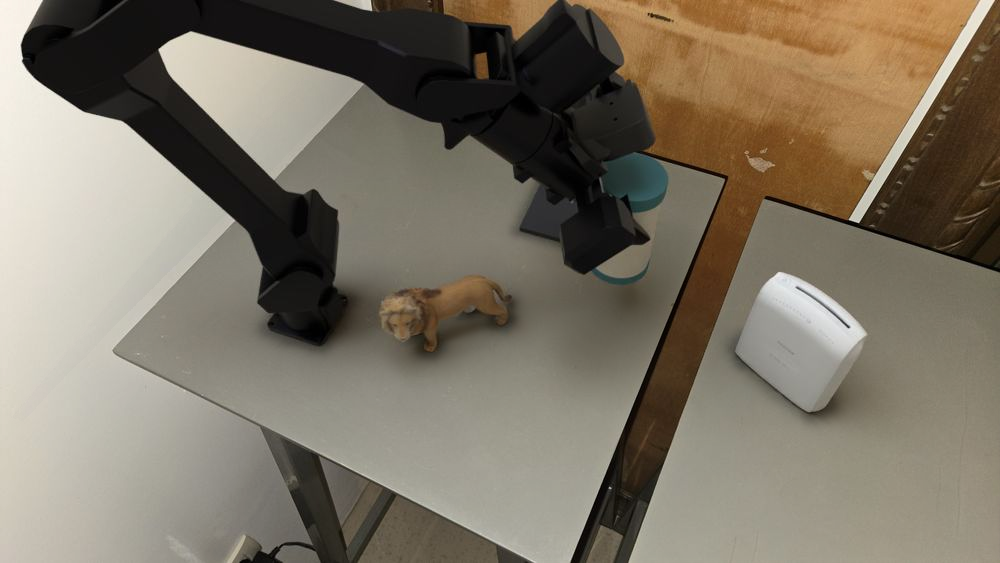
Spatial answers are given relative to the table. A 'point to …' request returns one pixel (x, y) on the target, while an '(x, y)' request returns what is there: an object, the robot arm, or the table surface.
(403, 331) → the lion figurine
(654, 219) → the cylinder
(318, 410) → the table surface
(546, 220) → the mat
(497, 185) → the table surface
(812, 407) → the photo printer
